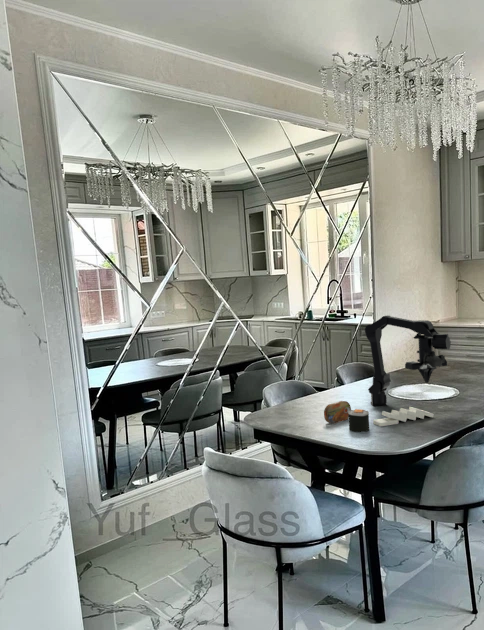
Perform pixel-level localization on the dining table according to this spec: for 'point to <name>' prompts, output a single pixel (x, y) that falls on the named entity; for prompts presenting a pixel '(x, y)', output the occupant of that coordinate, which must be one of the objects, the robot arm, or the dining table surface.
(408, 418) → the domino
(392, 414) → the domino
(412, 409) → the domino
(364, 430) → the sushi
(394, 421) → the domino
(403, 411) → the domino
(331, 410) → the tin
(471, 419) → the dining table surface
